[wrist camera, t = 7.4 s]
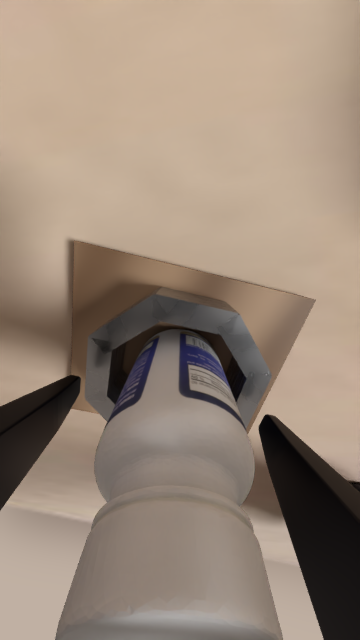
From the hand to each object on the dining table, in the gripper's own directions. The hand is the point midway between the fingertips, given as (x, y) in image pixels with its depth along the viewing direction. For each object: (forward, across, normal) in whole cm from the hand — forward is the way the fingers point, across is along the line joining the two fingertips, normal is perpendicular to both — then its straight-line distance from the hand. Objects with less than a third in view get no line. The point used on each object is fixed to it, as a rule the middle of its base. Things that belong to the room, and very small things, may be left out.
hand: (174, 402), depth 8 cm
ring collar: (+4, 0, 0) cm, 4 cm away
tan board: (+4, 0, 0) cm, 4 cm away
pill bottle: (+4, 0, 0) cm, 4 cm away
